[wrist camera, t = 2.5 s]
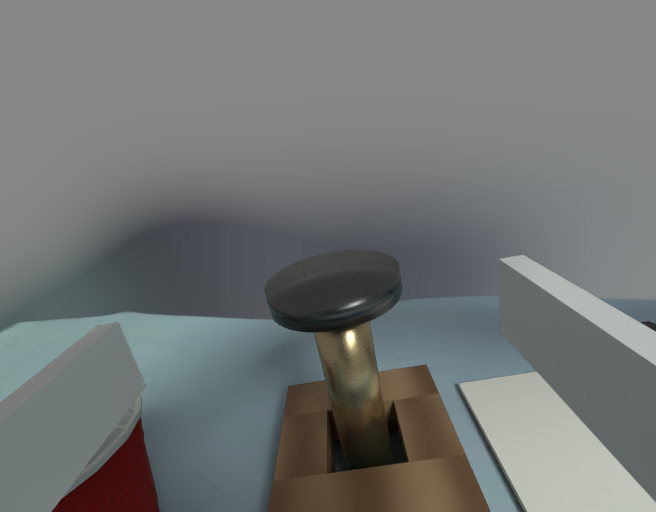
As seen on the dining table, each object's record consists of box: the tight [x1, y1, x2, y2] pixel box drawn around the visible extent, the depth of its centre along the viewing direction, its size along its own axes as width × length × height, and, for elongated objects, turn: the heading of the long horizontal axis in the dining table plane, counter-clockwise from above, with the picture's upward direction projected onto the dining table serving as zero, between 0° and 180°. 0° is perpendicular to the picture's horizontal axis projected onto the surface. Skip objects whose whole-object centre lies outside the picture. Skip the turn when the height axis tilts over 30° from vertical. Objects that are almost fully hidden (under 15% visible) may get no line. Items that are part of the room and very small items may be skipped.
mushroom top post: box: [265, 250, 402, 471], centre depth 25 cm, size 9×9×18 cm
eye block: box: [268, 365, 490, 512], centre depth 27 cm, size 14×14×4 cm
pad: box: [459, 372, 656, 512], centre depth 27 cm, size 14×14×1 cm
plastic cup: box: [52, 393, 159, 512], centre depth 22 cm, size 11×11×12 cm
